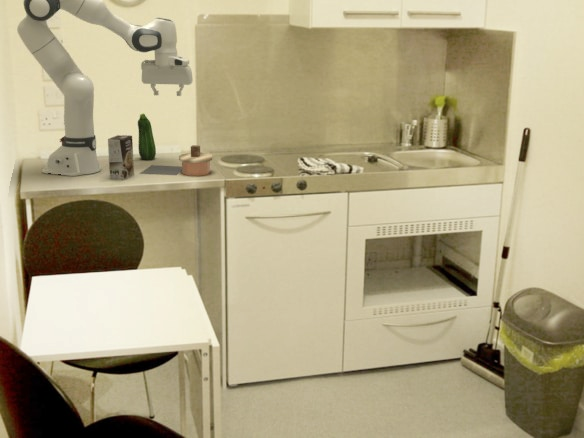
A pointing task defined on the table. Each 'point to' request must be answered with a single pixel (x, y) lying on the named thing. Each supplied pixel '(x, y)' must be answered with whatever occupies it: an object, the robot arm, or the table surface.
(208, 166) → the bowl
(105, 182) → the table surface
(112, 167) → the coffee box
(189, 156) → the lid
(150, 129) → the vegetable
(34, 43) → the robot arm
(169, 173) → the mat
